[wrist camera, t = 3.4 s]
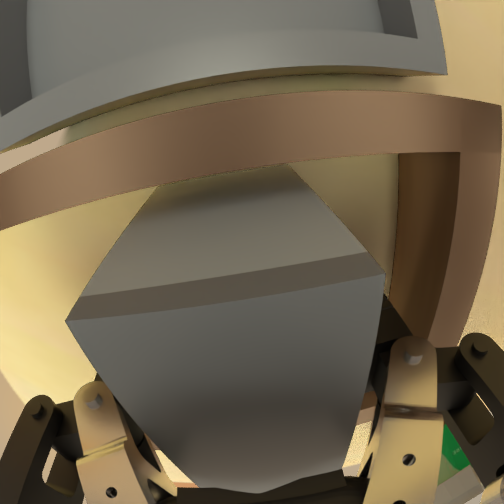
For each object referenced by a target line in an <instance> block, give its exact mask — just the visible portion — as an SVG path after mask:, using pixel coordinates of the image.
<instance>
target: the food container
mask: <svg viewBox="0 0 504 504" xmlns="http://www.w3.org/2000/svg"><path fill="white" fill-rule="evenodd" d="M437 412H438V411H437ZM443 421H444V420H443ZM484 489H485V488H484V486H483V484H482V483H481V481H480V479H479V477H478V476H477V474H476V472H475V471H474V469H473V467H472V465H471V464H470V462H469V460H468V459H467V457H466V455H465V454H464V452H463V451H462V449H461V447H460V446H459V444H458V442H457V441H456V439H455V438H454V436H453V434H452V433H451V431H450V430H449V428H448V427H447V425H446V424H445V422H444V423H443V440H442V451H441V461H440V469H439V476H438V483H437V489H436V495H435V500H434V504H464V503H466V502H467V501H469V500H471V499H472V498H474V497H476V496H477V495H479V494H480V493H482V492H483V491H484Z"/></svg>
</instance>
